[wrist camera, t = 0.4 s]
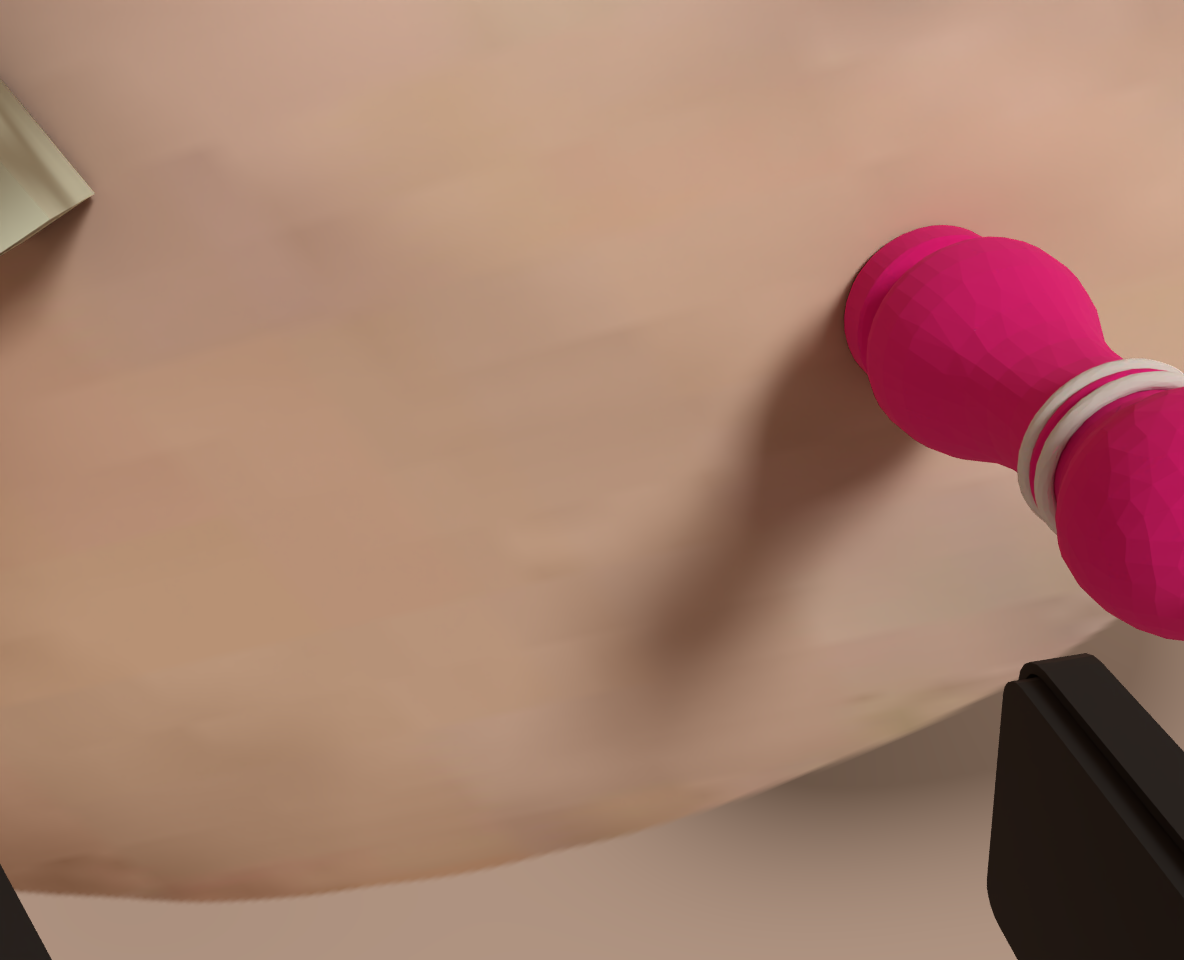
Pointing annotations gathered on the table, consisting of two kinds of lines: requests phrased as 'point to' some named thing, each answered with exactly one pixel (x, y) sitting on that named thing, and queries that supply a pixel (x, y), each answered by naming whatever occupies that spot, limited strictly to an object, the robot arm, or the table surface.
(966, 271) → the pepper mill
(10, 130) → the tongs arm
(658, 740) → the table surface
